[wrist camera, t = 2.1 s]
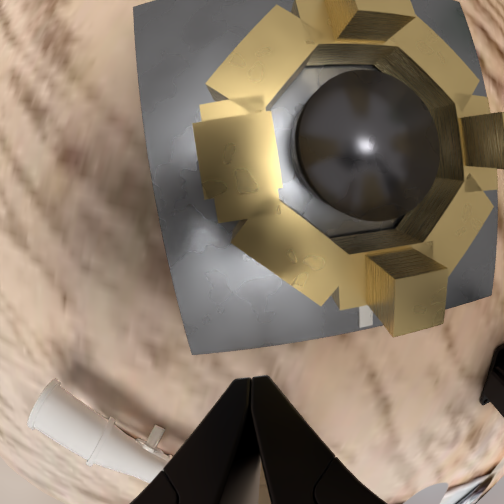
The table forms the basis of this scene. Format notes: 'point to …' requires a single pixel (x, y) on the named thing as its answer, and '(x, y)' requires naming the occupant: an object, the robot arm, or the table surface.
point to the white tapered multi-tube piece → (95, 435)
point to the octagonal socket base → (269, 176)
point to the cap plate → (289, 170)
